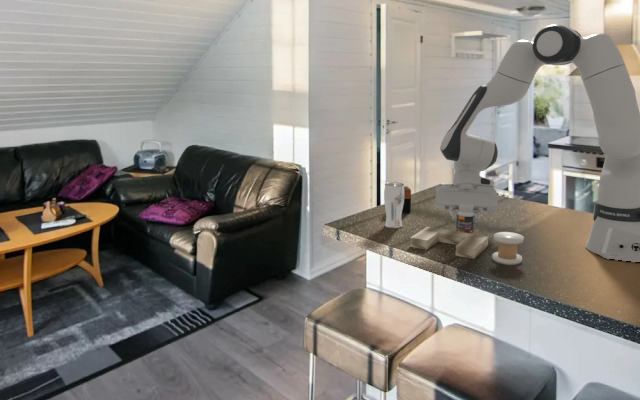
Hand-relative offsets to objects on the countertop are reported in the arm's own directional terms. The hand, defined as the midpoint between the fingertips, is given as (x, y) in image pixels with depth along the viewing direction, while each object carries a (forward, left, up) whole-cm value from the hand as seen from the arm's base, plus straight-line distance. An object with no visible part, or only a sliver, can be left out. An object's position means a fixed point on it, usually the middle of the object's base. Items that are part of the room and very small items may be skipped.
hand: (465, 220), depth 166 cm
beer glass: (+24, +3, -5) cm, 25 cm away
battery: (+30, -15, -5) cm, 34 cm away
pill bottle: (0, -1, -5) cm, 5 cm away
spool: (-18, +15, -5) cm, 24 cm away
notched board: (0, +13, -5) cm, 14 cm away
